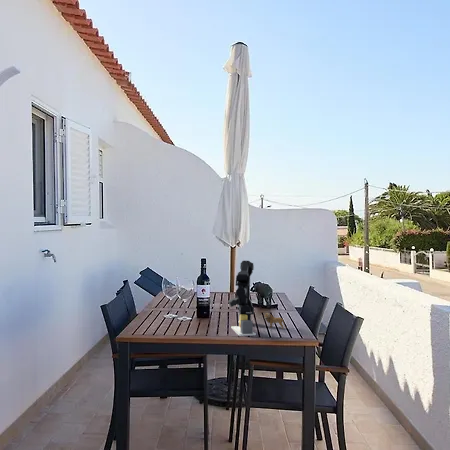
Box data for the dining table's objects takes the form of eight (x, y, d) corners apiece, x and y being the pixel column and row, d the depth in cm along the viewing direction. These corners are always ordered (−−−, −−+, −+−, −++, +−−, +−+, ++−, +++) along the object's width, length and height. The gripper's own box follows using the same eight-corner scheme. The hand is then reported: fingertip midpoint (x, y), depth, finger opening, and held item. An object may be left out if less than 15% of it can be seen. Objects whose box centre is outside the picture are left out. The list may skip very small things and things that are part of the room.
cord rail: (231, 328, 296) (231, 315, 296) (246, 327, 298) (246, 314, 298) (239, 335, 274) (239, 322, 274) (255, 335, 276) (256, 321, 276)
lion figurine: (263, 327, 298) (263, 313, 298) (265, 326, 303) (265, 312, 303) (286, 329, 293) (286, 315, 293) (287, 327, 298) (287, 313, 298)
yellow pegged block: (239, 326, 287) (239, 314, 287) (245, 326, 288) (246, 314, 288) (240, 328, 283) (240, 315, 283) (247, 327, 284) (247, 315, 284)
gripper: (226, 291, 296) (226, 315, 297) (232, 297, 278) (232, 323, 279) (244, 291, 298) (243, 315, 299) (251, 297, 280) (250, 323, 281)
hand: (241, 319), depth 289 cm, fingers closed
